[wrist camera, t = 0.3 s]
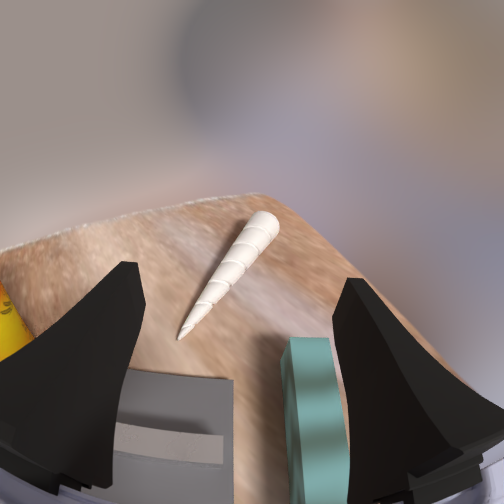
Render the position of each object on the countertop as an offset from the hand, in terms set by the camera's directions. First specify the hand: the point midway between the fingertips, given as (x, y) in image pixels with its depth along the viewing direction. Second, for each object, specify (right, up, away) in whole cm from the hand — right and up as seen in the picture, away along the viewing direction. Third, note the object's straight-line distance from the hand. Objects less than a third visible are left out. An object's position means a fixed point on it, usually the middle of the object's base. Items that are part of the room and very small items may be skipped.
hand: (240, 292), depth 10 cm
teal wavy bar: (+6, -18, +13) cm, 23 cm away
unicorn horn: (-2, -2, +31) cm, 31 cm away
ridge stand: (-9, -16, +11) cm, 22 cm away
